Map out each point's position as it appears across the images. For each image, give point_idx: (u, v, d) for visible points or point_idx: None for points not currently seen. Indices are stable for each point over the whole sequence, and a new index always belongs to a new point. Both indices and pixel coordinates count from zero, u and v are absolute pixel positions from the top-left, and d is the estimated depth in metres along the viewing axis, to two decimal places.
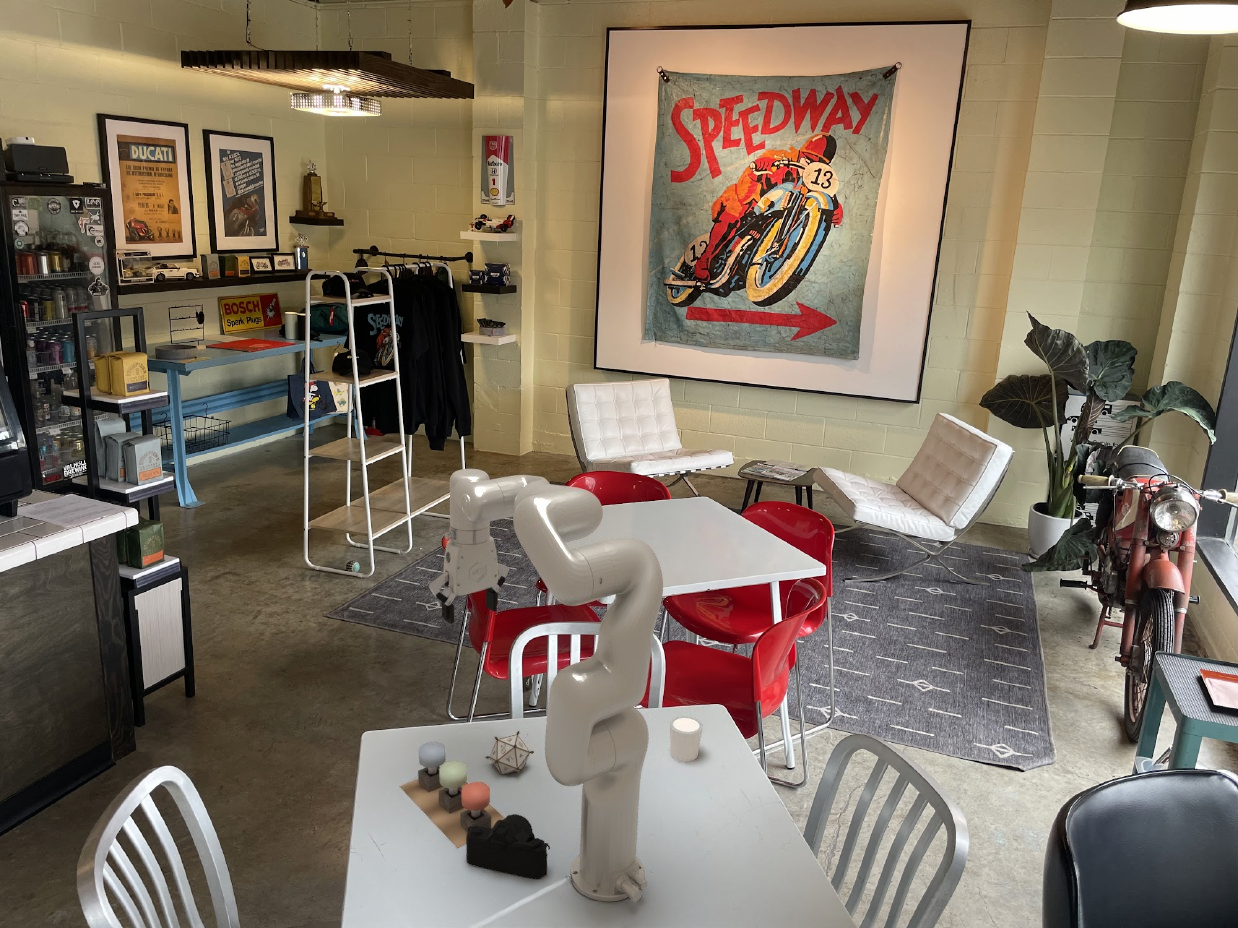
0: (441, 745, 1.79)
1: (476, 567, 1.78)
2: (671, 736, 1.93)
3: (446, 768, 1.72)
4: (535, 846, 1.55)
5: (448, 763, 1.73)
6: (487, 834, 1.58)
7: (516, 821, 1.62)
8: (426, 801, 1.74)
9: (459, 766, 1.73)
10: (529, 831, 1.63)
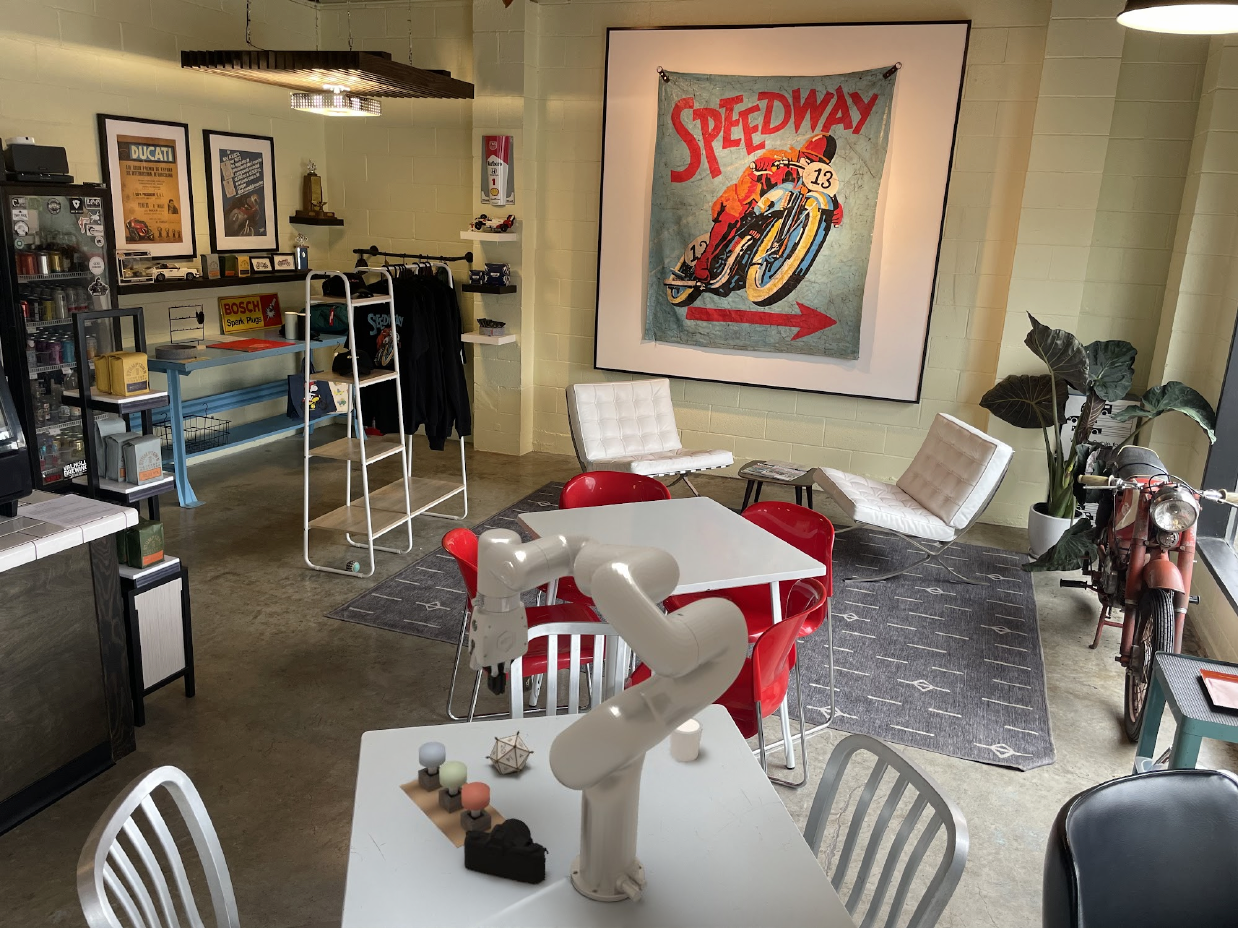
0: (441, 745, 1.79)
1: (505, 636, 1.63)
2: (671, 736, 1.93)
3: (446, 768, 1.72)
4: (533, 851, 1.54)
5: (448, 763, 1.73)
6: (485, 838, 1.57)
7: (514, 825, 1.61)
8: (426, 801, 1.74)
9: (459, 766, 1.73)
10: (527, 835, 1.61)
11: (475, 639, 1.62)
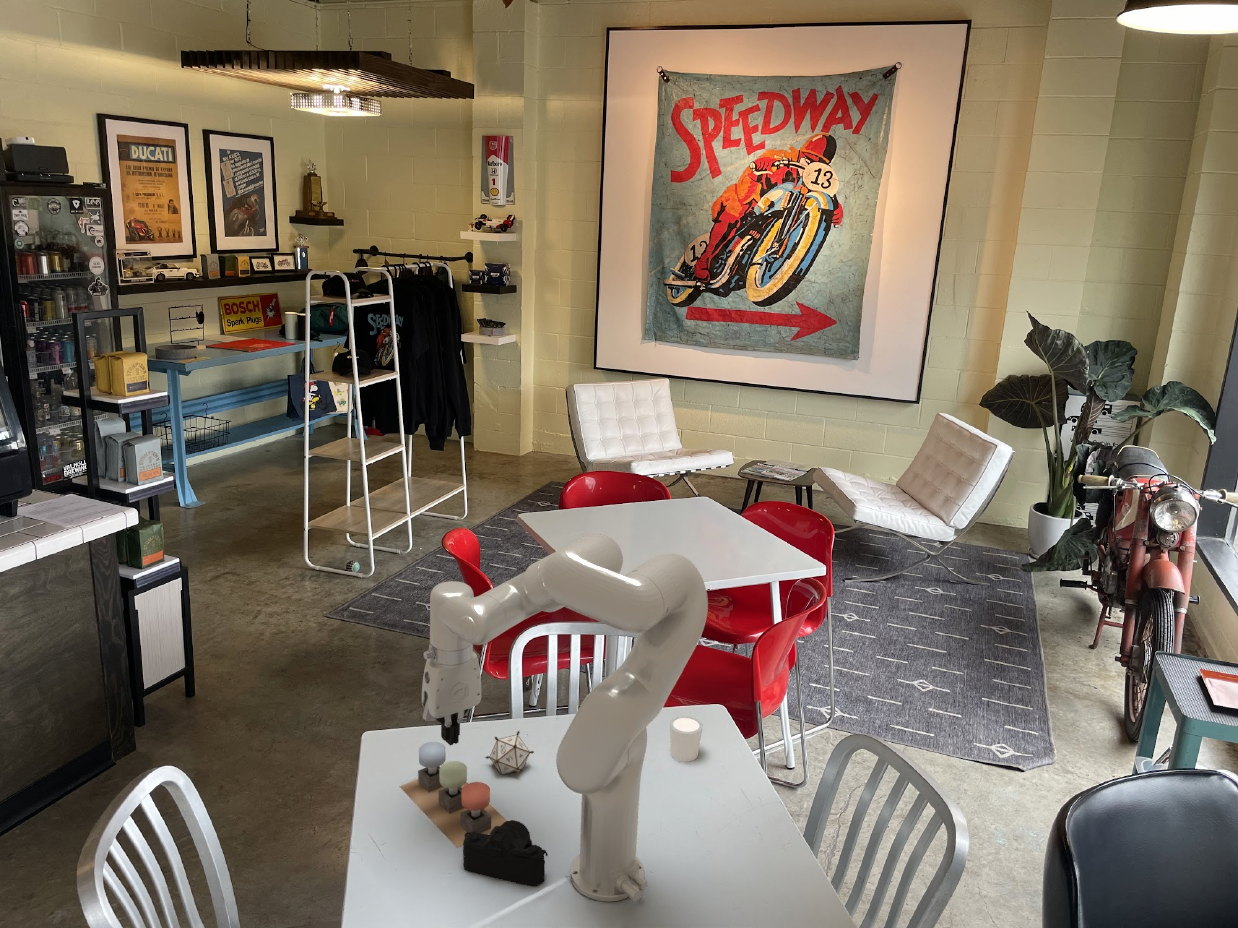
0: (441, 745, 1.79)
1: (457, 688, 1.65)
2: (671, 736, 1.93)
3: (446, 768, 1.72)
4: (532, 853, 1.53)
5: (448, 763, 1.73)
6: (484, 840, 1.56)
7: (514, 827, 1.61)
8: (426, 801, 1.74)
9: (459, 766, 1.73)
10: (527, 837, 1.61)
11: (428, 691, 1.63)
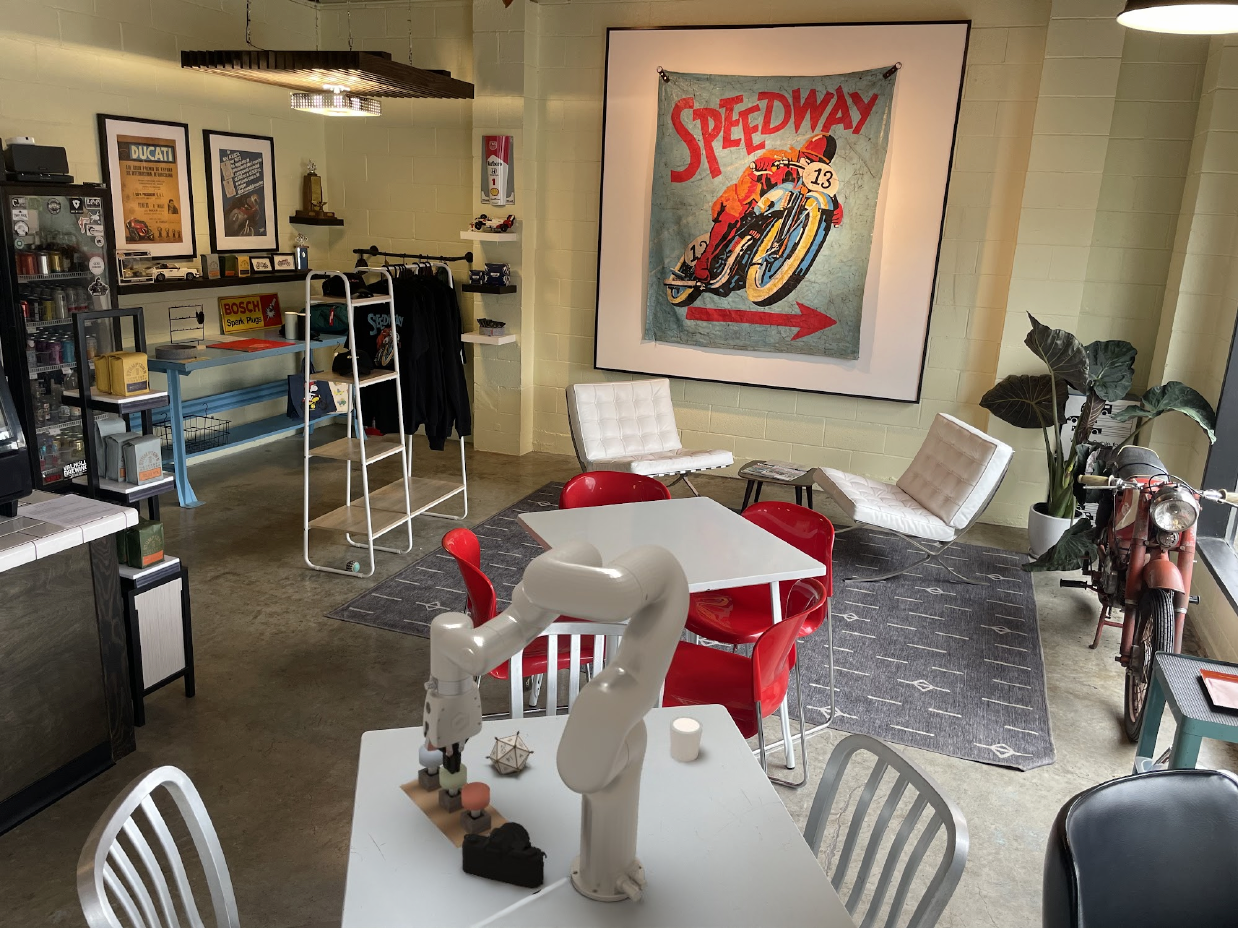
0: None
1: (458, 717, 1.66)
2: (671, 736, 1.93)
3: (446, 770, 1.72)
4: (531, 855, 1.53)
5: None
6: (483, 842, 1.56)
7: (513, 829, 1.60)
8: (426, 801, 1.74)
9: None
10: (526, 839, 1.60)
11: (429, 721, 1.65)
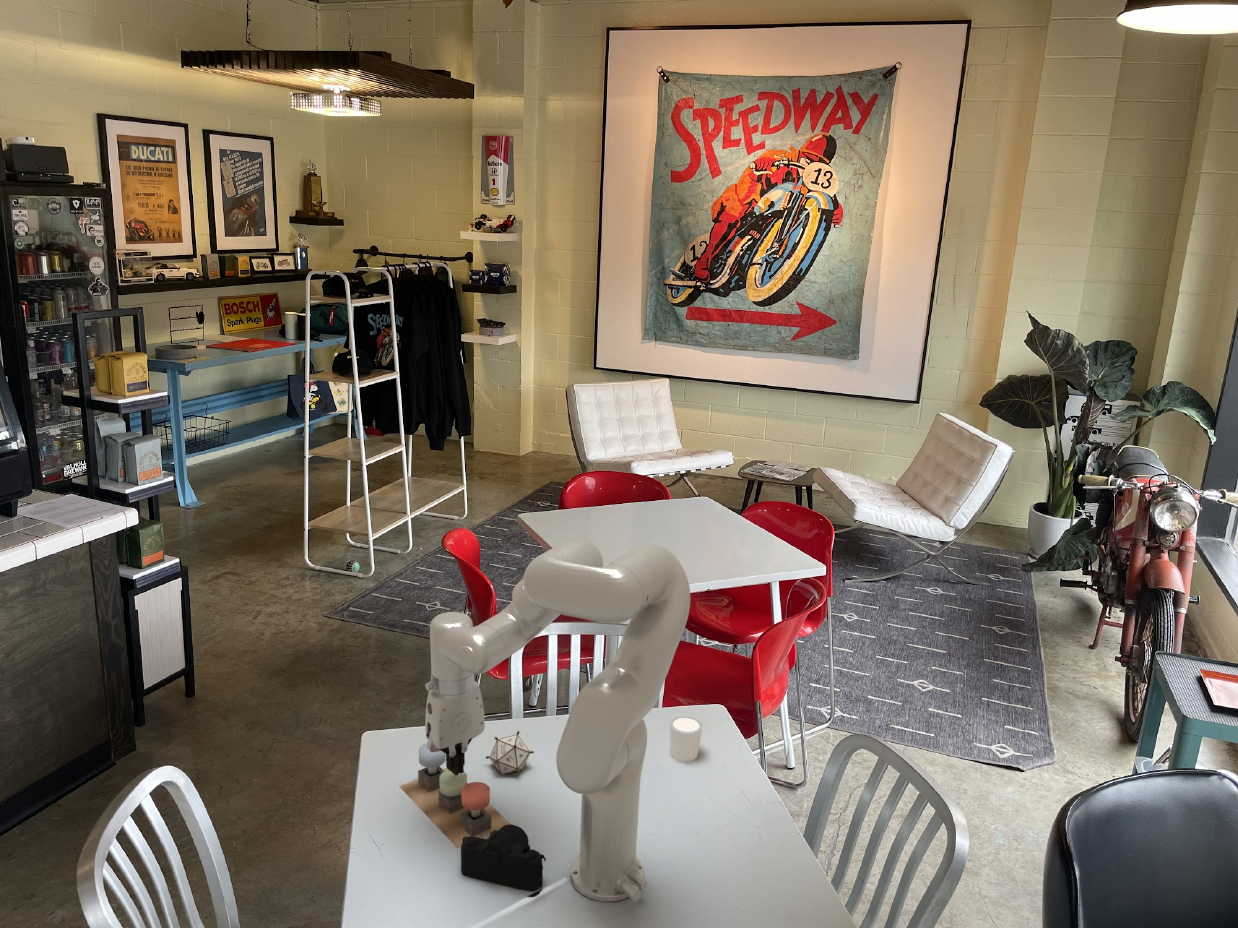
0: None
1: (460, 718, 1.66)
2: (671, 736, 1.93)
3: (446, 776, 1.72)
4: (530, 858, 1.52)
5: (448, 771, 1.74)
6: (482, 845, 1.55)
7: (512, 832, 1.59)
8: (426, 801, 1.74)
9: (459, 774, 1.73)
10: (525, 842, 1.60)
11: (431, 722, 1.65)
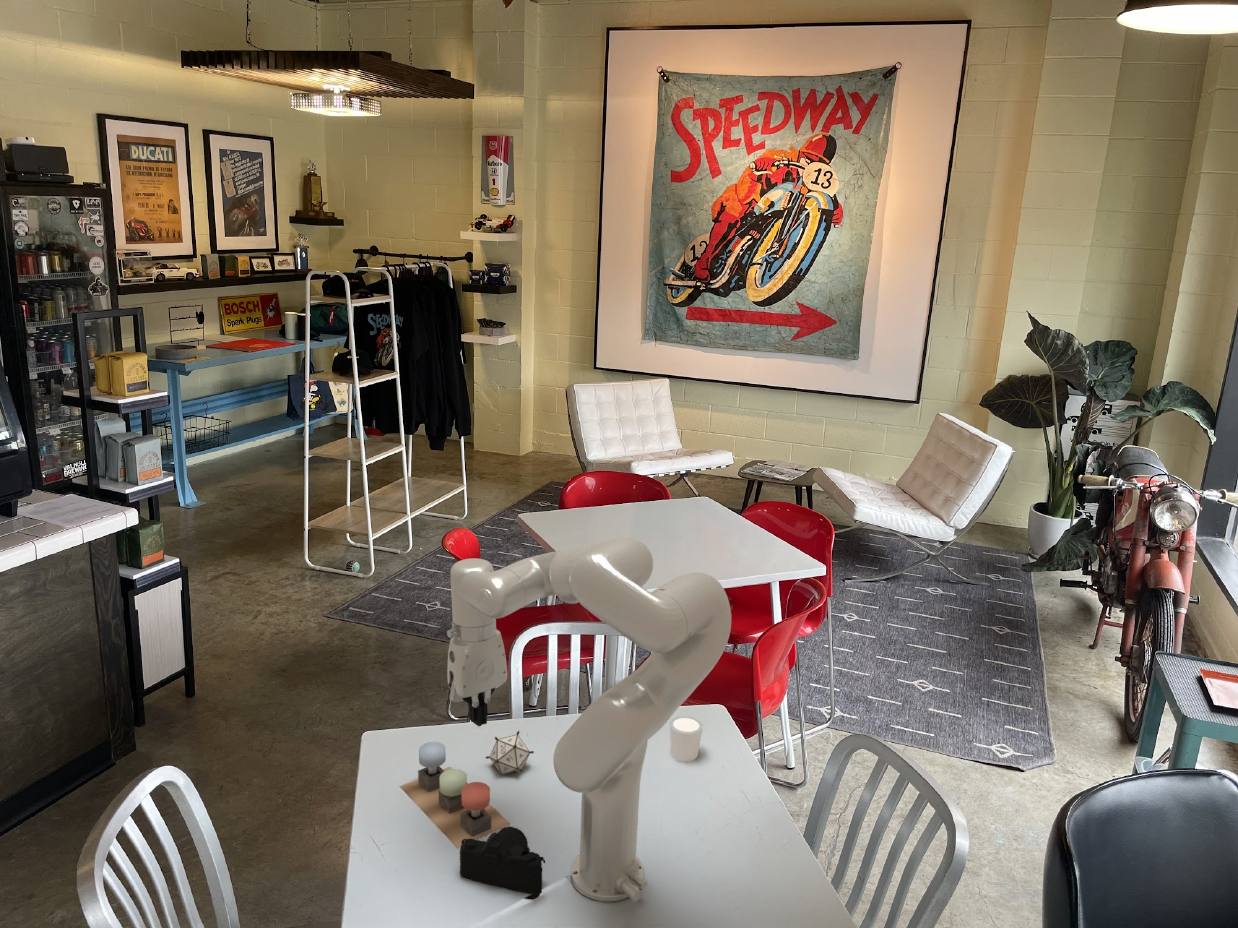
0: (441, 745, 1.79)
1: (483, 666, 1.64)
2: (671, 736, 1.93)
3: (446, 776, 1.72)
4: (530, 860, 1.51)
5: (448, 771, 1.74)
6: (481, 847, 1.54)
7: (511, 834, 1.59)
8: (426, 801, 1.74)
9: (459, 774, 1.73)
10: (524, 844, 1.59)
11: (453, 670, 1.62)
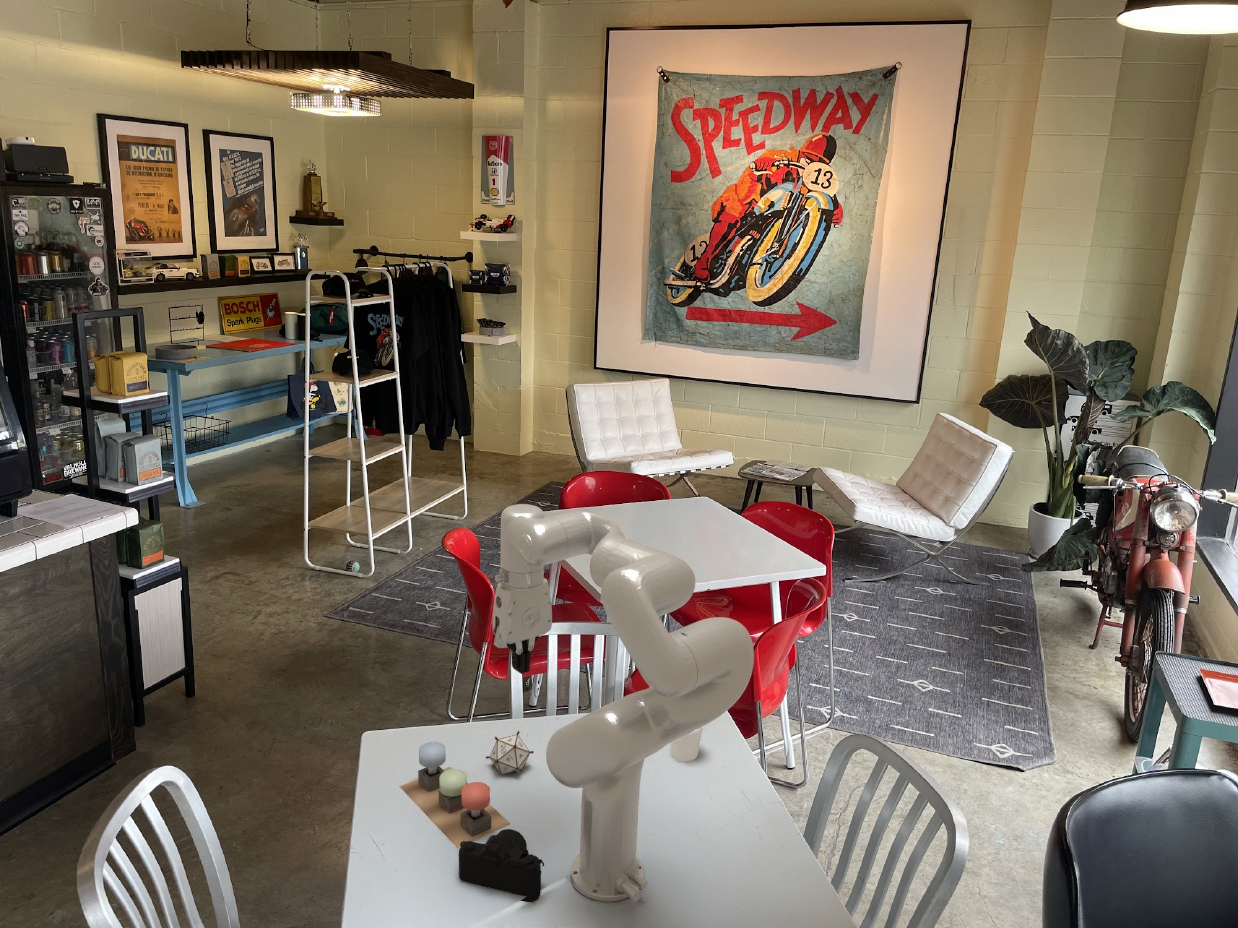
0: (441, 745, 1.79)
1: (529, 613, 1.62)
2: None
3: (446, 776, 1.72)
4: (529, 863, 1.51)
5: (448, 771, 1.74)
6: (480, 850, 1.54)
7: (510, 836, 1.58)
8: (426, 801, 1.74)
9: (459, 774, 1.73)
10: (523, 846, 1.59)
11: (499, 616, 1.60)
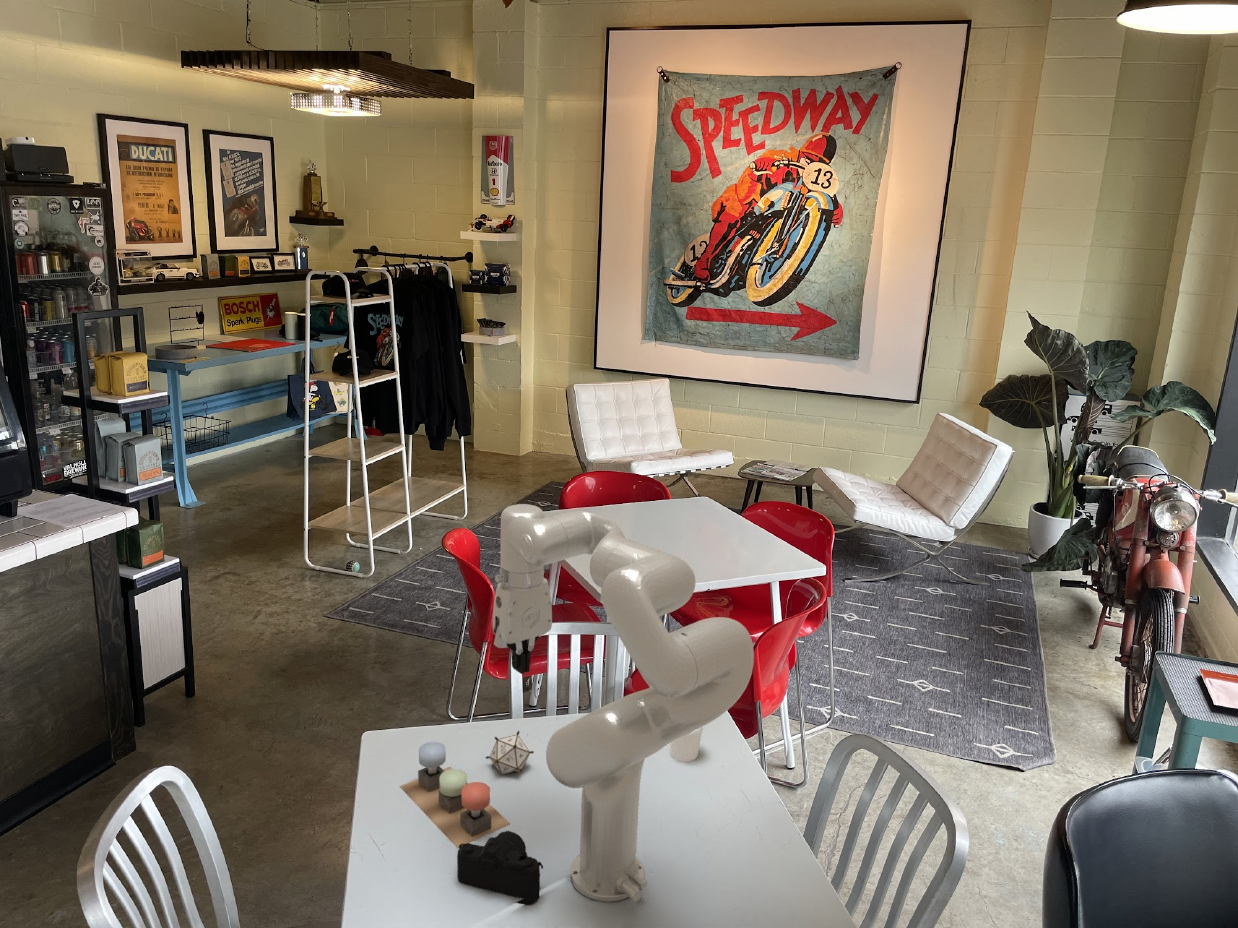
0: (441, 745, 1.79)
1: (529, 613, 1.62)
2: None
3: (446, 776, 1.72)
4: (527, 865, 1.50)
5: (448, 771, 1.74)
6: (478, 852, 1.53)
7: (509, 838, 1.58)
8: (426, 801, 1.74)
9: (459, 774, 1.73)
10: (522, 849, 1.58)
11: (499, 616, 1.60)
